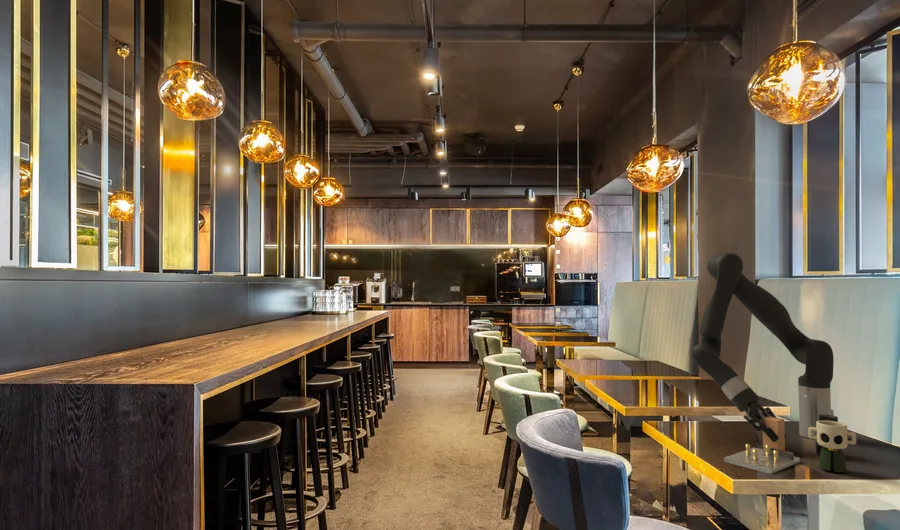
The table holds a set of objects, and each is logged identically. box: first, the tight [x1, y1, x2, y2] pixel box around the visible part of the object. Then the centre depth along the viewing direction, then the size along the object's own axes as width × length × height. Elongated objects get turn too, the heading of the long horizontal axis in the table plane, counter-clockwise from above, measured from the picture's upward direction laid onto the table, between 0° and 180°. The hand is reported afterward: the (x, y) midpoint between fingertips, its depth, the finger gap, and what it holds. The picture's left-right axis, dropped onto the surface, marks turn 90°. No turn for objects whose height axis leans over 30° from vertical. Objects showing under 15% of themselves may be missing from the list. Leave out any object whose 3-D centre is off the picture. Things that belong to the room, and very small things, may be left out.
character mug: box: [808, 421, 857, 473], centre depth 153 cm, size 11×7×13 cm, turn 54°
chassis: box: [723, 443, 801, 475], centre depth 160 cm, size 18×13×4 cm
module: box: [762, 417, 786, 451], centre depth 171 cm, size 4×4×10 cm
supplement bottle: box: [814, 414, 843, 457], centre depth 166 cm, size 7×7×12 cm
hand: (780, 438), depth 169 cm, fingers closed on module, 4 cm apart
